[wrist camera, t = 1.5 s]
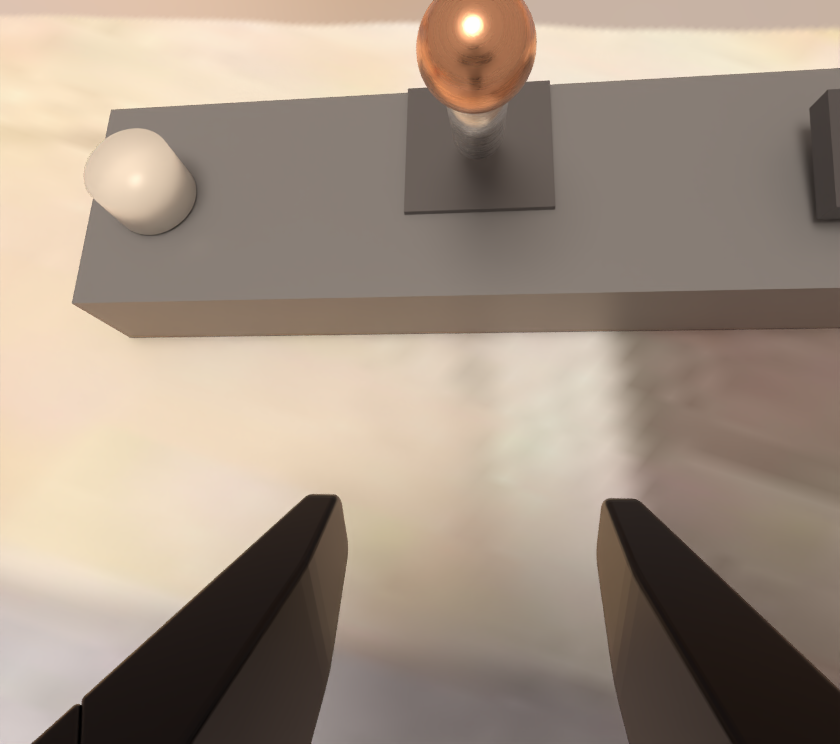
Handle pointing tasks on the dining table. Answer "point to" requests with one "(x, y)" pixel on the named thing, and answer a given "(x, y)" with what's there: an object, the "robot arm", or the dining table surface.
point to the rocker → (826, 153)
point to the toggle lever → (476, 65)
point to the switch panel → (483, 215)
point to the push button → (140, 181)
